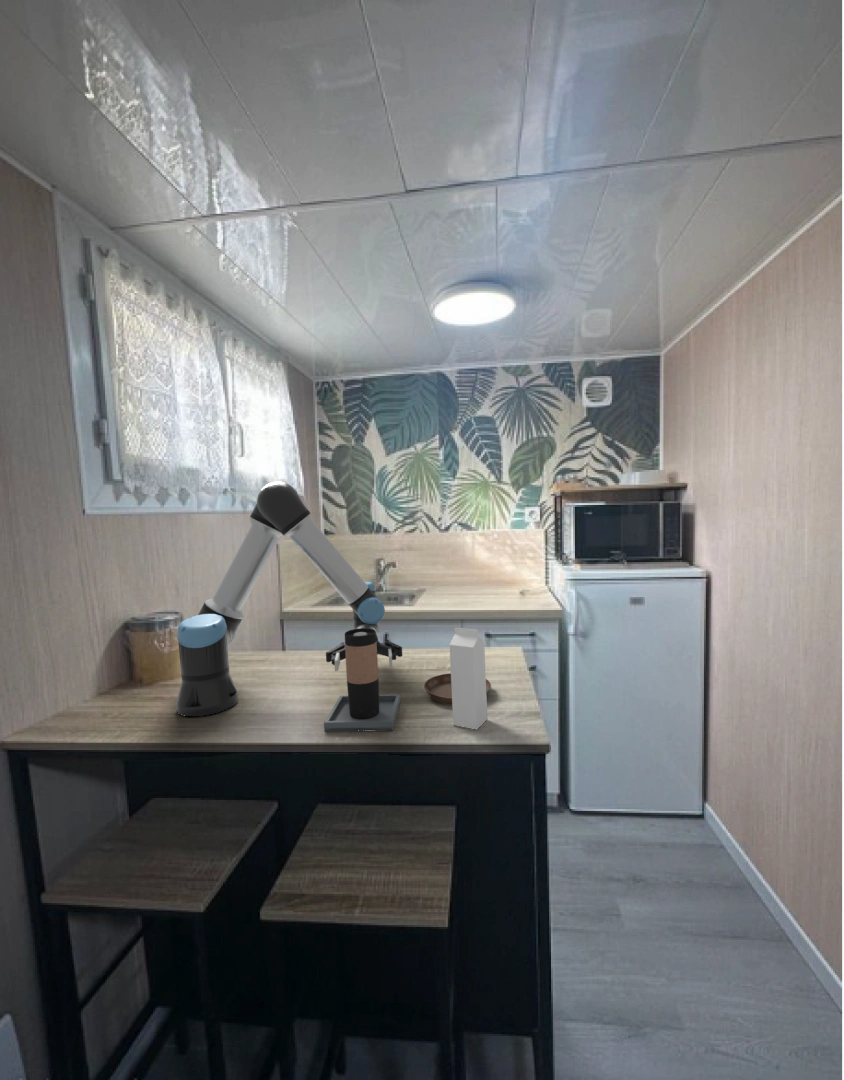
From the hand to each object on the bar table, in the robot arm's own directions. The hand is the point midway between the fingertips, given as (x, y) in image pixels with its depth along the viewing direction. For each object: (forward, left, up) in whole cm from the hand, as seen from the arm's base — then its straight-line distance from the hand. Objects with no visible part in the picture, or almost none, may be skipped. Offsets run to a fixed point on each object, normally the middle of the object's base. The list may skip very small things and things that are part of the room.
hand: (363, 663), depth 121 cm
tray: (+4, -3, -11) cm, 12 cm away
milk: (+25, +12, -12) cm, 30 cm away
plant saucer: (+11, +22, -12) cm, 27 cm away
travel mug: (+4, -3, -11) cm, 12 cm away
